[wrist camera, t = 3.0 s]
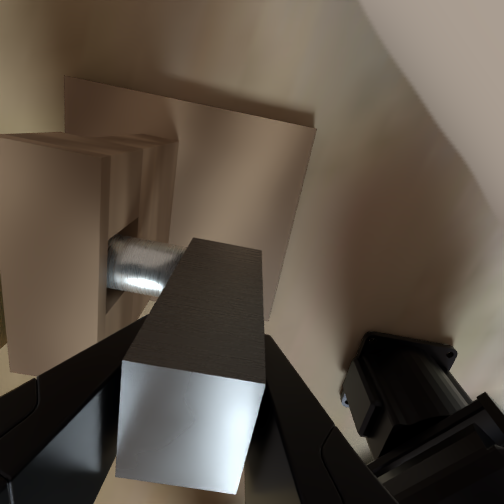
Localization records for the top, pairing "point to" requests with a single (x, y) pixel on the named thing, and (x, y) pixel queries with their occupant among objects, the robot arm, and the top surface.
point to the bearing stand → (132, 206)
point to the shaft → (190, 361)
